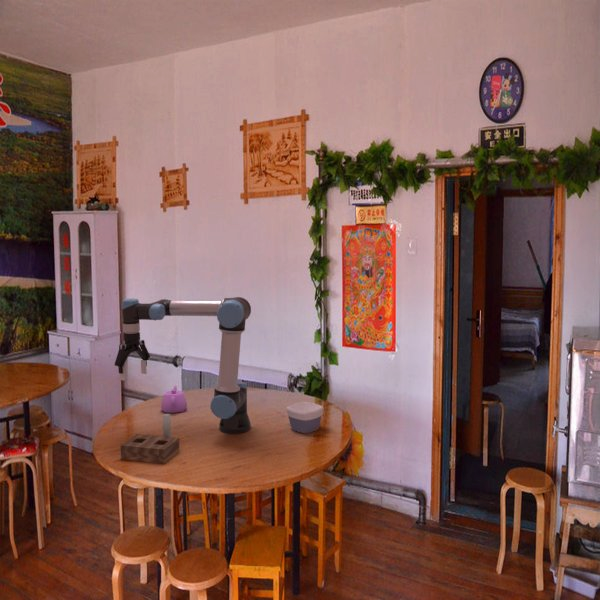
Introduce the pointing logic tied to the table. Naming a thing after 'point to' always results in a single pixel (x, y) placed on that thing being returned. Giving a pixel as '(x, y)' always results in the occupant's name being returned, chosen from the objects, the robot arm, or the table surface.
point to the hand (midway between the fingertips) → (133, 376)
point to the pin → (166, 425)
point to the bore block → (150, 448)
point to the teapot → (174, 401)
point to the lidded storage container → (304, 416)
